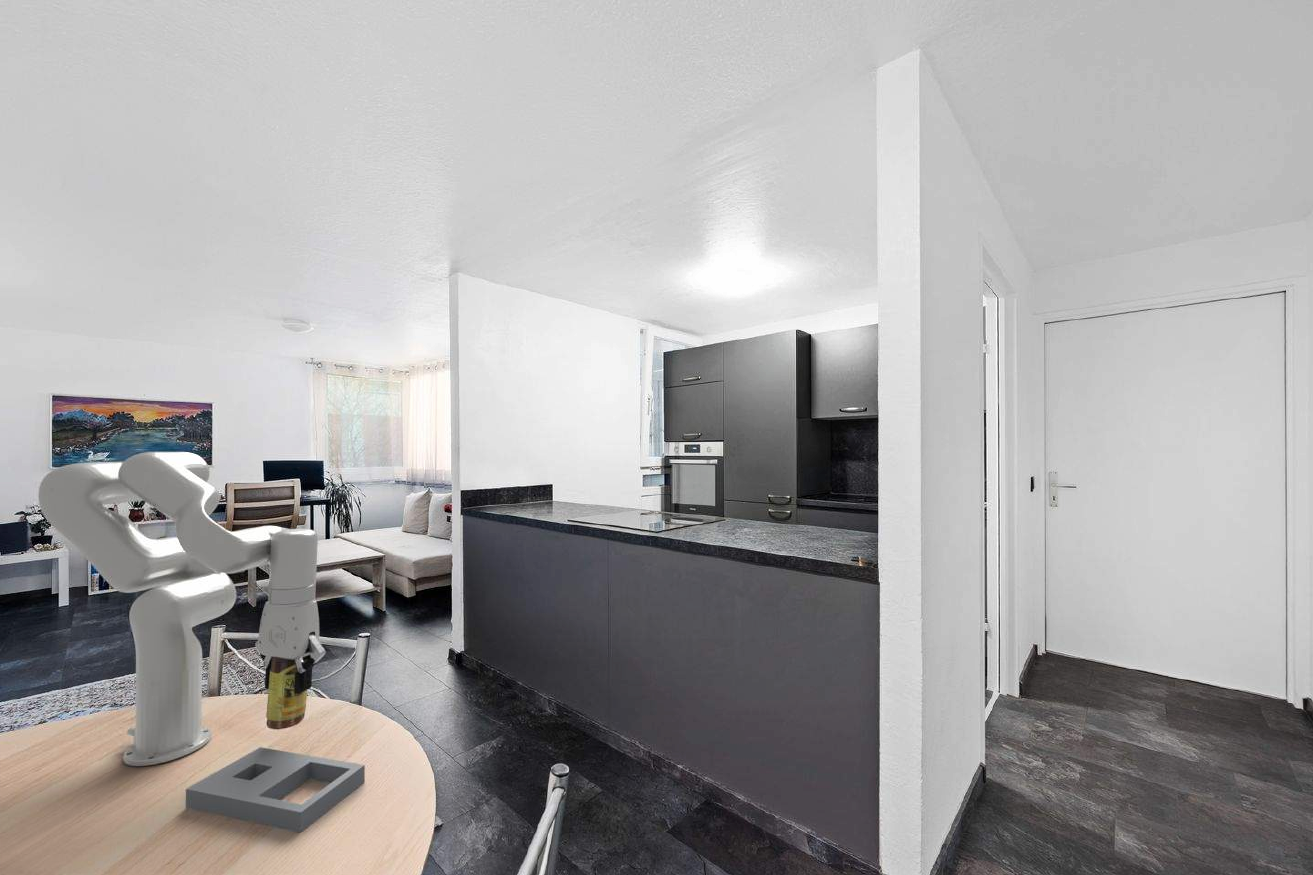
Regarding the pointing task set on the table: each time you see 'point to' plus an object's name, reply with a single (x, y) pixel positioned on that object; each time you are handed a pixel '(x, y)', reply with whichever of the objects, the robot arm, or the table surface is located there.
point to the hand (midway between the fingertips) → (288, 687)
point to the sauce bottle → (284, 695)
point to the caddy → (274, 788)
